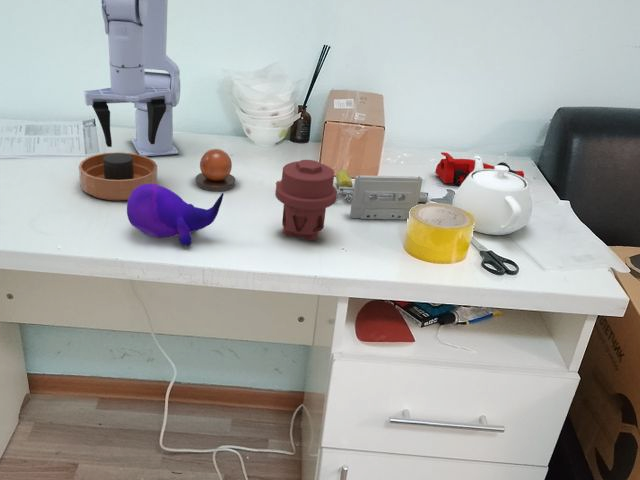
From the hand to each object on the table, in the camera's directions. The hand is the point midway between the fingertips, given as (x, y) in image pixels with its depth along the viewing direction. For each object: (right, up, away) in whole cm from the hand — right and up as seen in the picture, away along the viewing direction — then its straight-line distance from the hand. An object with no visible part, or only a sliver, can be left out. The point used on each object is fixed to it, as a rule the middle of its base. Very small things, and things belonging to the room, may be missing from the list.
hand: (130, 143), depth 128 cm
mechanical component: (+30, -17, -6) cm, 35 cm away
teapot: (+64, -14, +3) cm, 66 cm away
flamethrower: (+40, -7, +10) cm, 42 cm away
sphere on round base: (+14, -5, +10) cm, 18 cm away
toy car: (+68, -2, +20) cm, 71 cm away
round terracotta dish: (-3, -6, +6) cm, 9 cm away
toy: (+9, -18, -9) cm, 22 cm away
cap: (-3, -6, +5) cm, 9 cm away
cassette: (+45, -13, +2) cm, 47 cm away
